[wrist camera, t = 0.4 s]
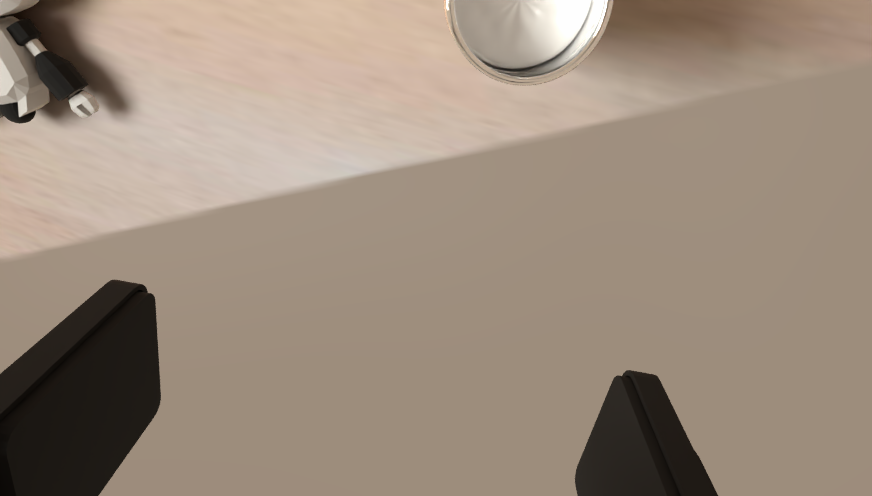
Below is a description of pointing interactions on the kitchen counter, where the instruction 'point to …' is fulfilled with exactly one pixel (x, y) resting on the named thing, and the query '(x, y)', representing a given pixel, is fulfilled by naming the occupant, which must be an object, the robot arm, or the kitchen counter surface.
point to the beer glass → (526, 35)
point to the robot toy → (34, 70)
